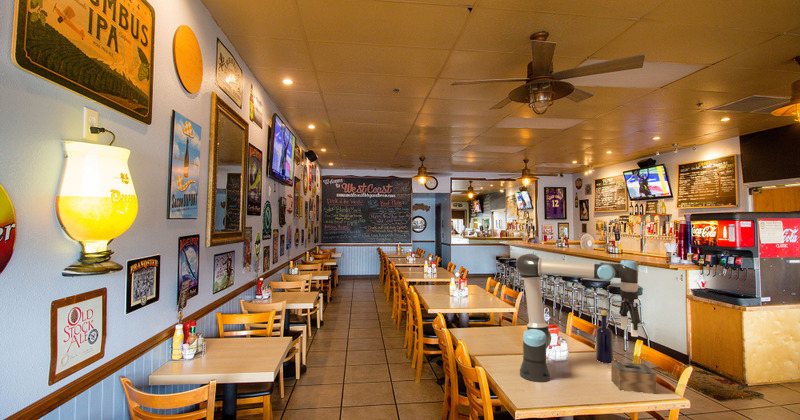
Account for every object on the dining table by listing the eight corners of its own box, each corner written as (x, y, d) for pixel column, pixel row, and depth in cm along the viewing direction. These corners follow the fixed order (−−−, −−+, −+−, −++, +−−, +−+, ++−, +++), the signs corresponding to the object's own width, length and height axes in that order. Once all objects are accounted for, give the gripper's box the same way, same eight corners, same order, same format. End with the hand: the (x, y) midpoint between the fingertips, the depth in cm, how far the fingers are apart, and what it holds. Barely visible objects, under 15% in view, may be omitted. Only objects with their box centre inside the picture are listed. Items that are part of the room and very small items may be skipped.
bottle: (613, 360, 223) (613, 310, 225) (612, 364, 215) (612, 313, 217) (596, 357, 228) (596, 308, 230) (595, 361, 220) (594, 311, 222)
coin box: (619, 390, 180) (619, 369, 180) (611, 380, 192) (611, 361, 192) (656, 394, 176) (656, 373, 177) (645, 384, 188) (645, 364, 189)
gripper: (648, 295, 174) (648, 340, 173) (627, 287, 199) (627, 326, 197) (630, 294, 176) (630, 338, 175) (612, 286, 200) (612, 325, 199)
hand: (629, 332), depth 186 cm, fingers open, 13 cm apart
